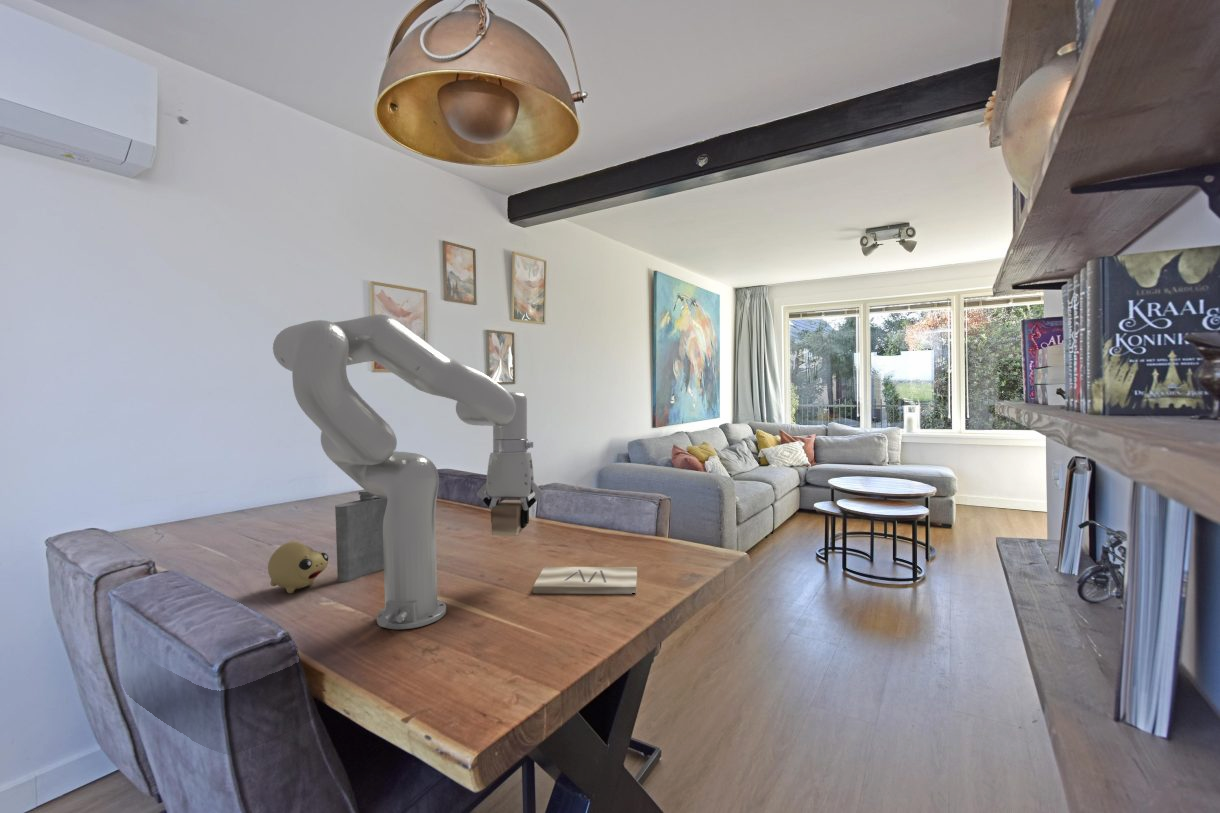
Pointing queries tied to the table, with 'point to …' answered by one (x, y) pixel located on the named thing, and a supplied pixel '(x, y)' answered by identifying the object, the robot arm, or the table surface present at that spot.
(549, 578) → the birch board
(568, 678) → the table surface
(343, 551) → the hip flask
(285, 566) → the yellow round soft figure
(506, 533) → the block
